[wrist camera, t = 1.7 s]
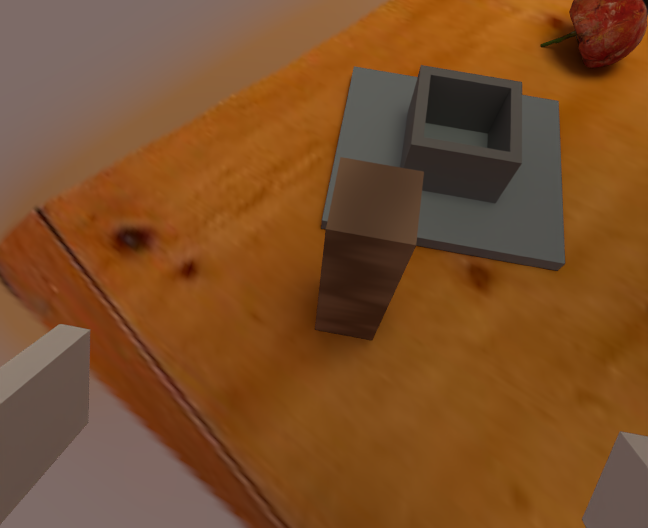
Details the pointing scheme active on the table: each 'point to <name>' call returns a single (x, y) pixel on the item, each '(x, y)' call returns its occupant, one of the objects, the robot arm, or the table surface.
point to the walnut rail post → (366, 244)
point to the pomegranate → (606, 29)
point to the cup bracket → (464, 159)
